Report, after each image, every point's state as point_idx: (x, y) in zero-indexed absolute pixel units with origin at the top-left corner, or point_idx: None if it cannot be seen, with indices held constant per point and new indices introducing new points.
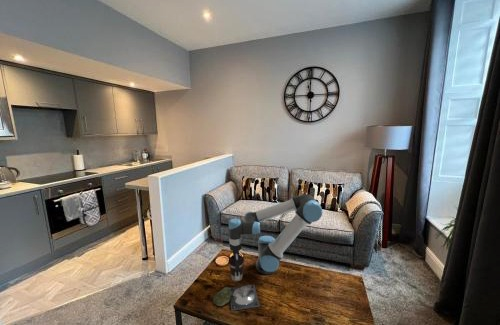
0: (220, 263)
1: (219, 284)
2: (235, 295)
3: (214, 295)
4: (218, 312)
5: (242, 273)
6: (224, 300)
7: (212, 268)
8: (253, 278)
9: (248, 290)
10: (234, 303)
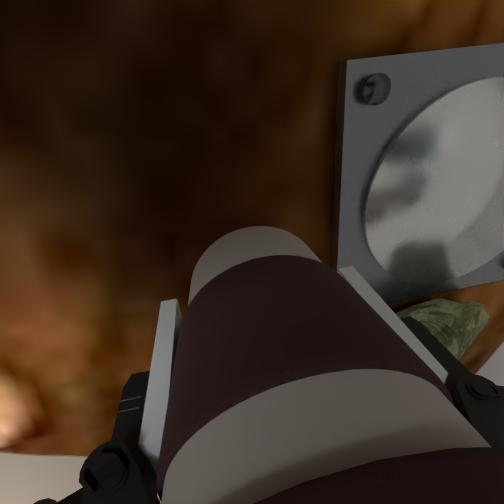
0: (2, 417)
1: None
2: (438, 263)
3: None
4: (483, 331)
5: (288, 251)
6: (475, 334)
7: (92, 445)
8: (207, 59)
9: (427, 146)
10: (491, 260)
